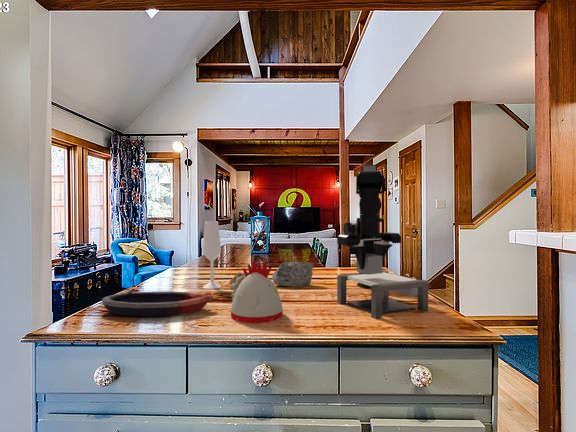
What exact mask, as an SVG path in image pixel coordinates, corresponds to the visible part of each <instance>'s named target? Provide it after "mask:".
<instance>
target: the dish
mask: <svg viewBox="0 0 576 432" xmlns="http://www.w3.org/2000/svg"><path fill="white" fill-rule="evenodd" d="M213 299H214V297H213V295H211V294H205V293H199V292H189V291H133V290H128V291H126V292H124V293H117V294H112V295H108V296H105V297H103V298H102V299H101V303H102V304H103V306H104V309H105V310H107V311H108V312H109V313H110V314H115V315H118V316H124V317H125V316H126V317H134V318H135V317H137V318H139V317H140V318H155V317H157V318H158V317H161V318H163V317H176V316H182V315H183V316H184V315H187V314H192V313H195V312H198V311H200V310H202V309H204V308H205V307H206V305H207V304H208V302H210V303H211V302H212V301H213Z"/></svg>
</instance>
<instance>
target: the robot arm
mask: <svg viewBox="0 0 576 432" xmlns="http://www.w3.org/2000/svg"><path fill="white" fill-rule="evenodd" d="M355 179H356V181H355V182H356V183H355V184H356V185H355V189H356V190H355V194H356V195H358V196H359V204H358V206H359V217H356V223H354V224H352V222H345V223H343V227H342V228H343V229H342V230H343V233H341V234H339V235H338V236H337V239H336V240H337V241H336V243H337V245H342V246H347V248H350V249H351V250H352V251H353V254H354V256H355V258H356V262H357V261H358V264H359V267H360V269H361V270H363V269H364V265H365V257H366V254H376V255H381V256H382V262H383V261H384V258H385V257H386V254H387V253H388V251H389V249H390V248H391V247H393V244H401V243H402V235H400V232H398V233H397V232H381V223H383V222H384V221H383V220H384V218H382V217H381V208H382V201H381V198H380V195H384V194H385V192H387V180H386V177H385V175H384V174H382V171H381V170H378V165H376V164H363V165H361V170H360V171H358V173H357V174H356V178H355ZM390 242H391V243H392V244H390ZM358 273H360V272H358ZM356 286H357V287H361V288H364V289H371V286H368V285H365V284H362V283H358V282H357V283H356Z"/></svg>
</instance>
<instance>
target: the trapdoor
mask: <svg viewBox="0 0 576 432" xmlns="http://www.w3.org/2000/svg"><path fill="white" fill-rule="evenodd" d="M347 279H349V280H348V281H353V282H356V283H357V284H358V283H362V284H365V285H368V286H371V285H379V284H388V283H398V282H407V281H416V280H417V279H415V278H411V277H406V276H401V275H398V274H393V273H390V272H389V273H385V272H383V273H379V274H369V275H367V274H362V275H351V276H347ZM393 291H394V292H396V293H400V294H403V295H407V296H410V297H416V296H418V288H410V289H401V290H393ZM393 291H392V292H393Z"/></svg>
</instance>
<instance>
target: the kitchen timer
mask: <svg viewBox="0 0 576 432" xmlns="http://www.w3.org/2000/svg"><path fill="white" fill-rule="evenodd" d="M251 265H252V266H251ZM267 265H268V264H267V261H264V263H263V266H262V263H261V260H258V261H257V263H256V260H255V259H254V260H252V264H247V269H248V271H247V269H246V268H245V267H244V268H242V272H243V273H244V274H245V276H246V277H245V278H244V279H243V280H242V282H241V283H240V284H239V286H238V288H237V290H236V292H235V295H234V298H233V299H232V303H231V307H230V317H231V319H232V320H233V321H235V322H238V323H244V324H264V323H271V322H275V320H276V321H278V320H280V319H281V318H282V317H283V304H282V300H281V297H280V293H279V291H278V289H277V286H276V284H274V282H273V280H272V279H271V278H269V276H270V273H271V270H272V266H270V267H268V266H267ZM279 318H280V319H279ZM277 319H278V320H277Z"/></svg>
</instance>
